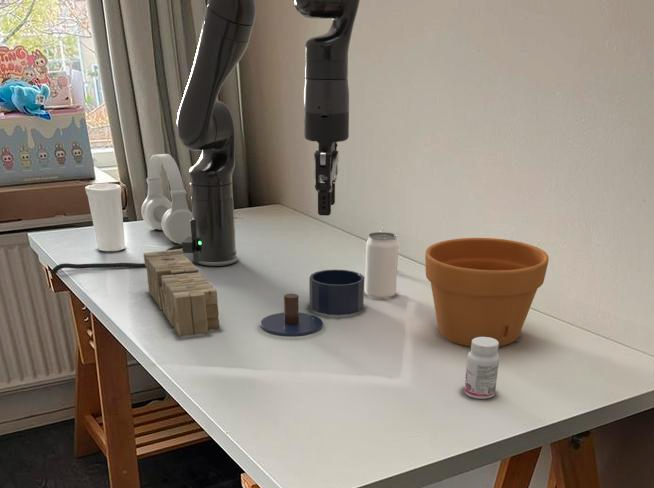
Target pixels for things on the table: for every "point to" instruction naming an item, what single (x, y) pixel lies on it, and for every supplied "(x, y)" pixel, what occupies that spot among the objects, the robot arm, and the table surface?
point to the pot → (336, 292)
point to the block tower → (182, 292)
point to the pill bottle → (482, 368)
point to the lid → (291, 320)
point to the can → (381, 264)
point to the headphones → (166, 200)
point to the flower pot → (483, 287)
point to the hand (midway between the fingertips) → (326, 209)
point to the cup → (107, 215)
